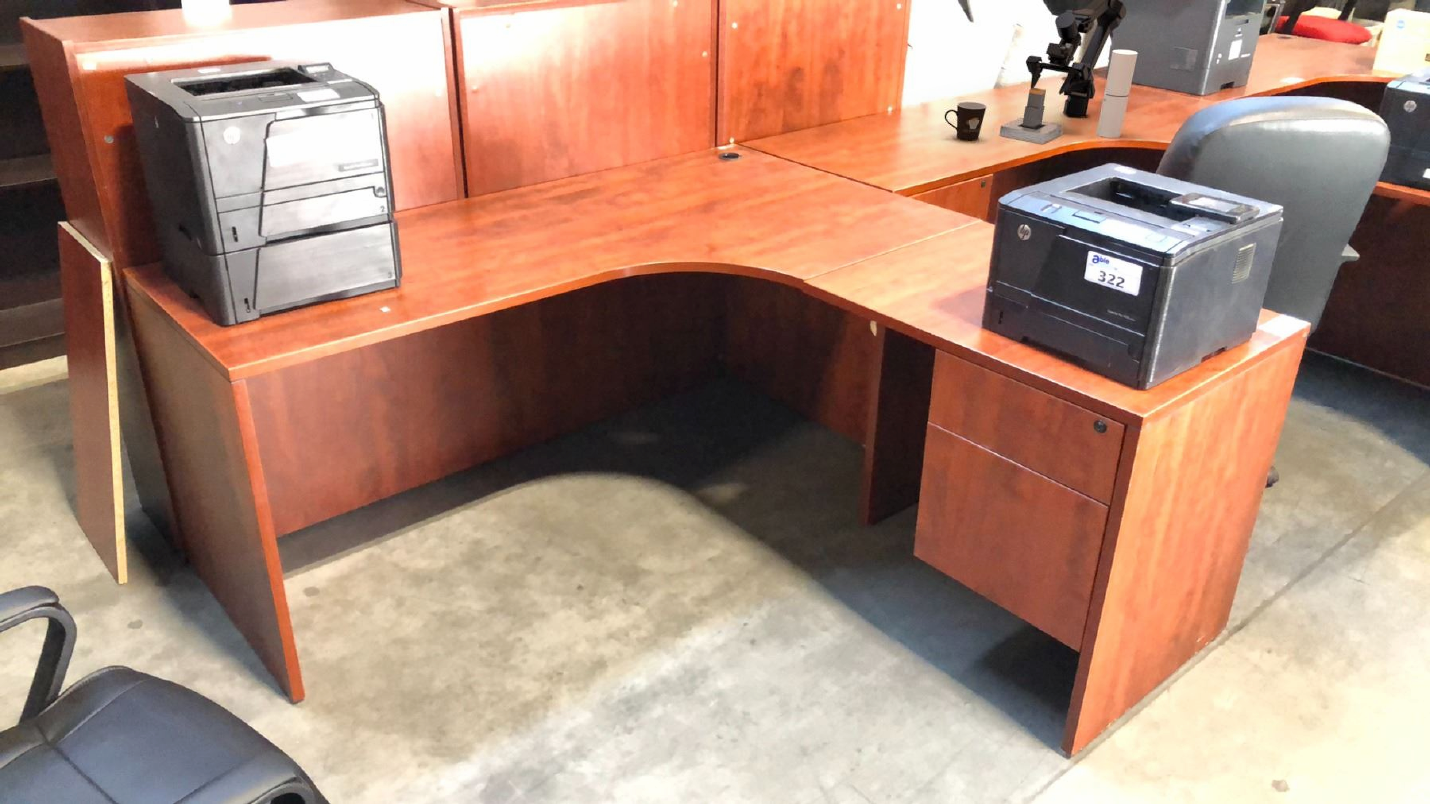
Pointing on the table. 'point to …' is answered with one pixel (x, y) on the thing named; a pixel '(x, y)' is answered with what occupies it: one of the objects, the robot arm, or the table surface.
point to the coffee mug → (968, 120)
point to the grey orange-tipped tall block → (1034, 109)
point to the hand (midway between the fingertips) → (1045, 91)
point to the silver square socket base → (1030, 131)
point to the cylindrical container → (1116, 93)
